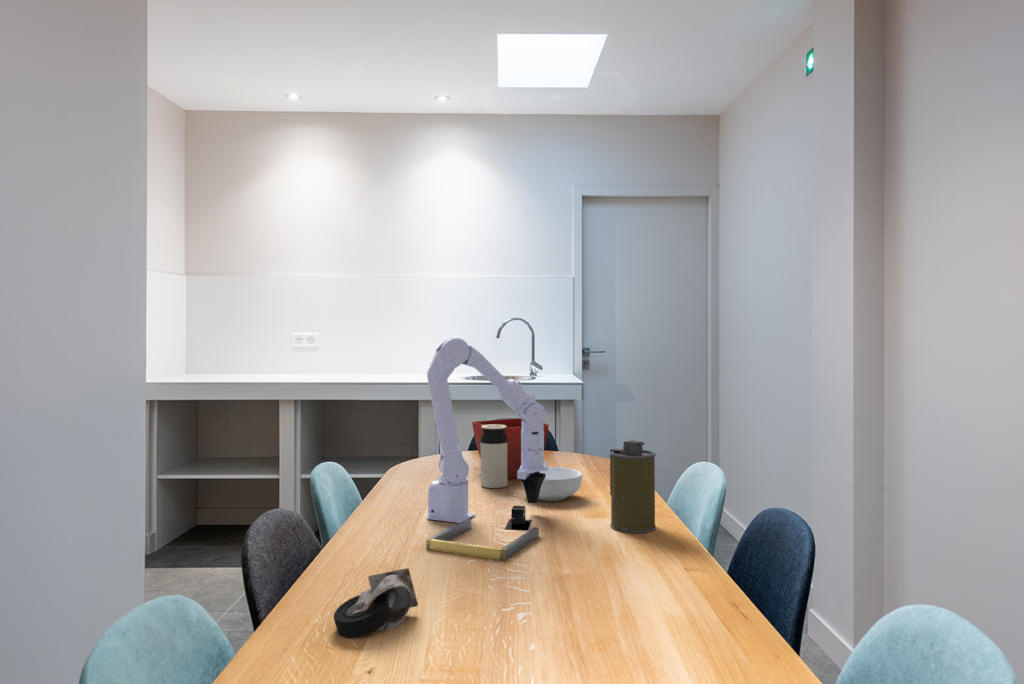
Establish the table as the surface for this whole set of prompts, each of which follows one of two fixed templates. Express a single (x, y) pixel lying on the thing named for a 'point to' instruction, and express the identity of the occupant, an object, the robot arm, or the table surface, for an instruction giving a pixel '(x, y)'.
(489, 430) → the travel mug
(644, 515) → the canister
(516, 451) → the plant pot
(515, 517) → the build plate
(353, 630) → the caster wheel
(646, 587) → the table surface
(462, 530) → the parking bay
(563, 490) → the cereal bowl
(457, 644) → the table surface
